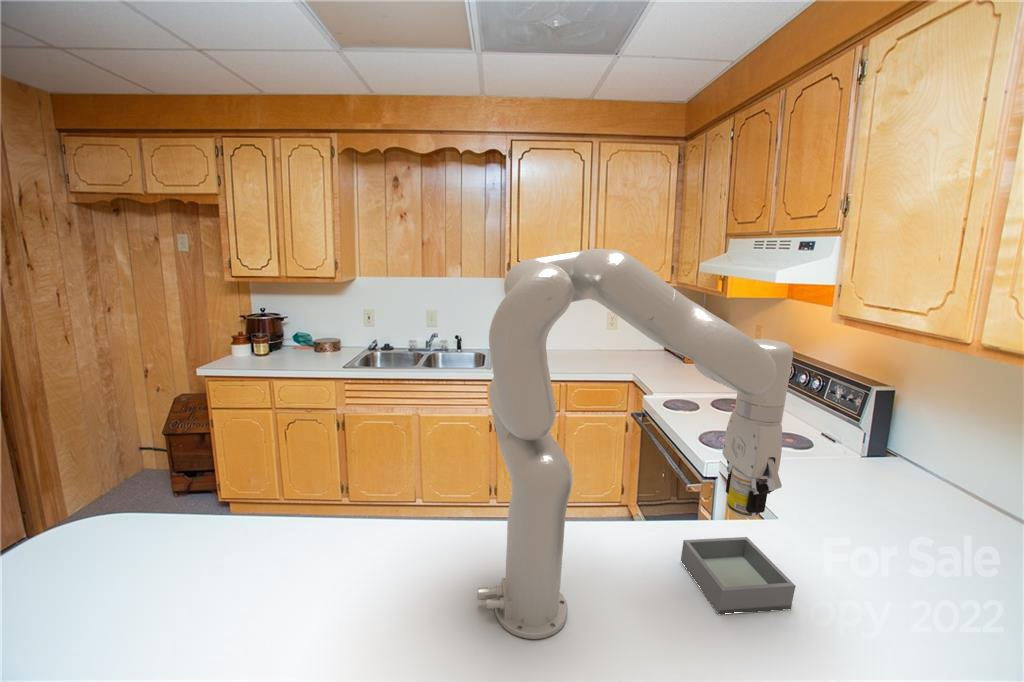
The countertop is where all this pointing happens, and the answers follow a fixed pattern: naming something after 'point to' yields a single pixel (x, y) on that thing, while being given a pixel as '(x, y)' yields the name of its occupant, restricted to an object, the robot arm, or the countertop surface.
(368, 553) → the countertop surface
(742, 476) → the supplement bottle
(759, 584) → the tray
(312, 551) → the countertop surface
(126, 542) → the countertop surface
